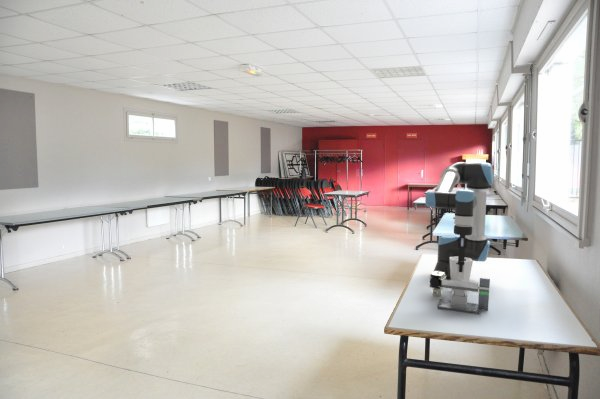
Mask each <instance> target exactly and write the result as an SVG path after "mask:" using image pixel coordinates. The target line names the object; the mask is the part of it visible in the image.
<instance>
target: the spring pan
mask: <svg viewBox="0 0 600 399" xmlns="http://www.w3.org/2000/svg"><path fill="white" fill-rule="evenodd" d="M441 288H445V289H450V290H451V289H455V294H454V295H456V296H464V290H467V292H469V291H470V292H476V293H479V289H486V290H489V291H490V287H489V288H486V287H479V282H478V283H476V282H470V281H469V282H461V281H452V280H451V279H446V280H442V285H441Z"/></svg>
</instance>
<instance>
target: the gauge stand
mask: <svg viewBox="0 0 600 399" xmlns="http://www.w3.org/2000/svg"><path fill="white" fill-rule="evenodd" d="M490 284H491V279H490V278H484V277H479V283H478V287H486V288H489V290H486V289H478V299H477V300H478V303H473V302H467V301H468V292H467V293H464V296H456V295H454V294H455V292H453V291H451V295H450V296H451V297H450V300H449V299H442V298H441V299H440V298H439V299H438V304H437V310H444V311H450V312H451V311H454V312H459V313H466V314H472V315H473V314H474V315H480V314H481V312H480V311H486V312H488V311H489V302H490V300H489V299H490Z"/></svg>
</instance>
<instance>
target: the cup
mask: <svg viewBox="0 0 600 399" xmlns="http://www.w3.org/2000/svg"><path fill="white" fill-rule="evenodd" d="M449 258H450V274H451V279H450V280H452V281H461V282H469V283H470V278H471V274H472V273H471V272H472V268H473V262H474V261H473V260H472V259H471V258H466V257H465V258H464V259H466V261H464V280H462V279H457V267H458V264H456V263H458V256H457V257H449ZM450 290H451V292H452V291H453V292H455V289H451V288H450ZM464 293H467V294H468V291H467V290H464Z"/></svg>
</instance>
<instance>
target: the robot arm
mask: <svg viewBox="0 0 600 399" xmlns="http://www.w3.org/2000/svg"><path fill="white" fill-rule="evenodd" d="M457 184H458V185H459V184H460V185H461V184H462V185H466V189H457V190H456V192H453V190H454V188H455V186H456V185H457ZM493 185H494V170H493V165H492V164H491V163H489V162H480V161H479V162H478V161H477V162H476V161H475V162H473V161H472V162H471V161H465V162H464V161H459V162H454V163H453V164H450V165H449V166H447V167H445V169H443V171H442V172H441V175H440V180H439V182H438V184H437V185H436V187H435V189H434V190H432V191H431V190H429V191H427V192H426V194H425V199H424V200H425V205H426V207H428V208H434V209H435V208H437V209H453V210H454V216H453V217H452V219H453V220H454V222H453V224H454V226H453V234H444V235H441V236H439V237H438V243H437V261H436V264H435V266H434V269H433V272H435V271H441V272H445V276H446V280H451V274H450V258H449V257H457V256H458V263H456V264H458V267H457V279H462V280H464V261H466V259H464V258H465V257H466V258H471V259H472V260H473V262H486V261H487V258H488V255H489V250H490V245H491V241H490V240H488V236H487V235H486V234H485V233H486V232H485V231H486V216H487V215H486V213H487V212H486V211H487V191H489V190H490V189H491V186H493Z"/></svg>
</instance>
